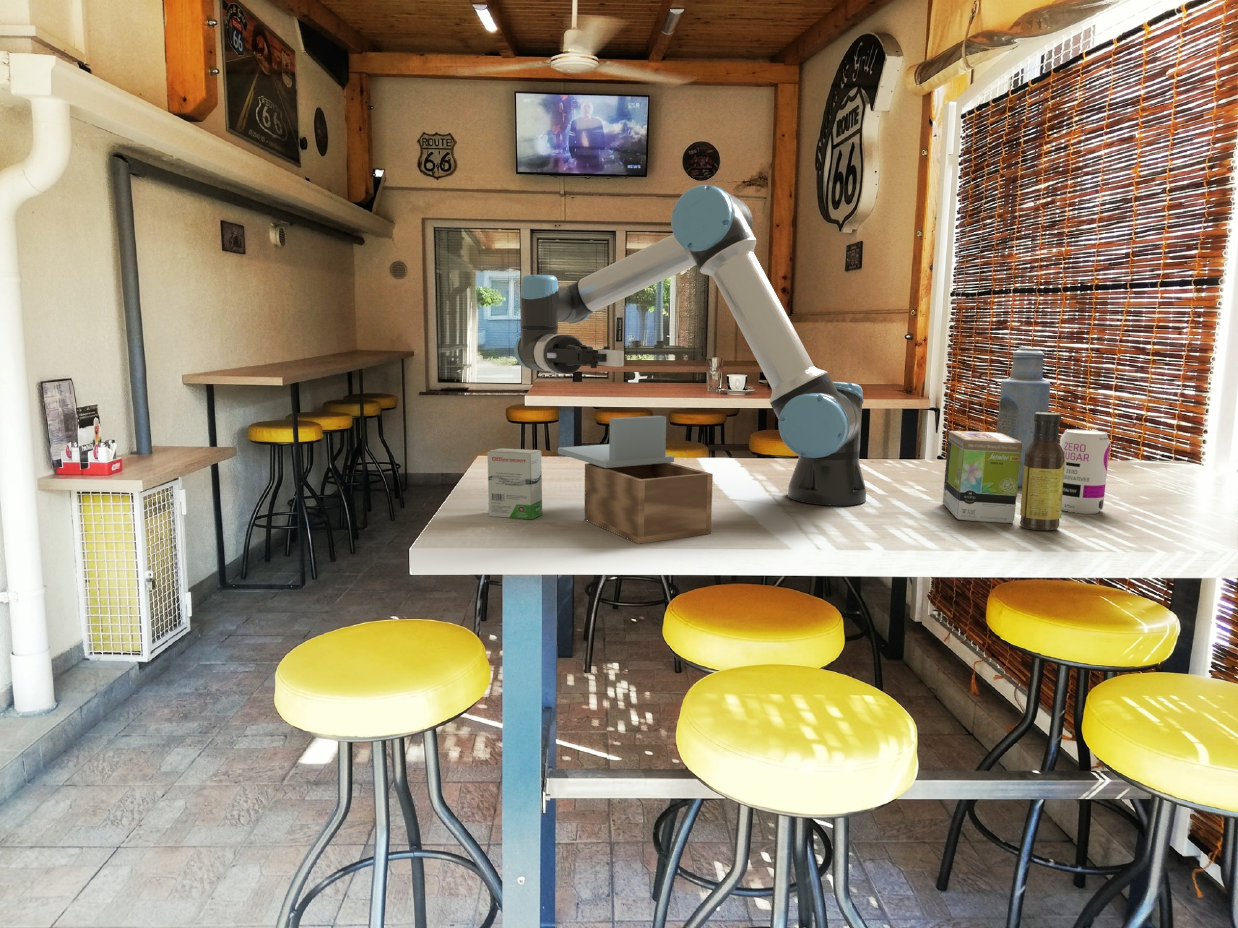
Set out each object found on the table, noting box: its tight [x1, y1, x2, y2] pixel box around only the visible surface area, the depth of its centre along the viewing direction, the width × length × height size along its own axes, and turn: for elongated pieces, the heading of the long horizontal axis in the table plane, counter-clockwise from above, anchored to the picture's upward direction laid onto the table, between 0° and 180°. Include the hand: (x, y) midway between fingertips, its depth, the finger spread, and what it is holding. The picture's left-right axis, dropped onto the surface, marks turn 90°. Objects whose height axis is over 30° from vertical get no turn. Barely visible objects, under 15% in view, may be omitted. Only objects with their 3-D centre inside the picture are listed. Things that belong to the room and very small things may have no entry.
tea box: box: [942, 430, 1022, 524], centre depth 153 cm, size 15×10×15 cm
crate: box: [584, 462, 714, 545], centre depth 140 cm, size 18×14×10 cm
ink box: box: [487, 447, 543, 520], centre depth 147 cm, size 9×5×12 cm, turn 71°
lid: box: [557, 415, 675, 468], centre depth 148 cm, size 18×14×8 cm
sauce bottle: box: [1019, 412, 1065, 531], centre depth 142 cm, size 6×6×20 cm
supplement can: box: [1059, 429, 1111, 515], centre depth 157 cm, size 8×8×15 cm
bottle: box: [996, 346, 1051, 488], centre depth 182 cm, size 10×10×30 cm
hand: (619, 358), depth 144 cm, fingers closed
